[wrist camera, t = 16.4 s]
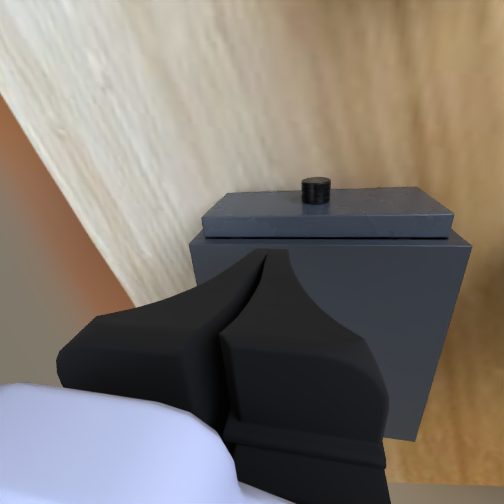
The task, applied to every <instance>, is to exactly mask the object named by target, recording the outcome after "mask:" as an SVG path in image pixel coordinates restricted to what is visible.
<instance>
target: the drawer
mask: <svg viewBox="0 0 504 504" xmlns="http://www.w3.org/2000/svg"><path fill="white" fill-rule="evenodd" d="M330 188H331V180H330V179H329V178H324V177H312V178H306V179H304V180H302V191H274V192H244V193H227V194H226V195H225V196H224V197H223V198H222V199H221V200H219V201H218V202H217V203H216V204H215V205H214V206H213V207H212V208H211V209H210V210H209V211H208V212H207V213H206V214H205V215H203V216H202V218H201V219H202V225H203V230H204V236H205V237H230V239H352V240H413V239H412V238H411V237H449V234H450V230H451V226H452V222H453V218H454V213H452V212H451V211H450V210H448V209H447V208H446V207H444V206H443V205H441V204H440V203H439V202H437V201H436V200H434V199H433V198H432V197H430V196H429V195H428V194H426V193H425V192H423V191H422V190H421V189H419V188H418V187H393V188H363V189H333V190H330Z"/></svg>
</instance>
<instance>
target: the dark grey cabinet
mask: <svg viewBox="0 0 504 504" xmlns="http://www.w3.org/2000/svg"><path fill="white" fill-rule="evenodd" d="M411 238H412V239H413V240H352V239H230V237H205V236H204V230H202V231H201V232H200V233H199V234H198V235H197V236H196V237H195V238H194V239H193V240H192V241H191V242H190V243H189V248H190V253H191V258H192V263H193V268H194V273H195V278H196V283H197V286H198V285H200V284H202V283H204V282H206V281H208V280H210V279H212V278H213V277H215V276H217V275H218V274H220V273H221V272H223V271H224V270H226V269H228V268H229V267H231V266H232V265H233V264H235V263H236V262H238V261H239V260H240V259H242V258H243V257H244V256H246V255H247V254H249V253H250V252H251V251H253V250H254V249H256V248H270V249H287V250H288V251H289V258H290V263H291V265H292V268H293V270H294V272H295V274H296V276H297V278H298V280H299V282H300V283H301V285H302V286H303V288H304V289H305V291H306V292H307V293H308V295H309V296H310V297H311V298H312V299H313V301H314V302H315V303H316V304H317V305H318V306H319V307H320V308H321V309H322V310H323V311H324V312H326V313H327V314H328V315H329V316H330V317H332V318H333V319H334V320H336V321H337V322H338V323H340V324H341V325H343V326H345V327H346V328H348V329H349V330H351V331H353V332H354V333H356V334H358V335H359V336H361V337H363V338H364V339H365V340H366V342H367V344H368V346H369V348H370V350H371V352H372V354H373V356H374V358H375V360H376V362H377V364H378V366H379V369H380V371H381V374H382V376H383V378H384V381H385V384H386V387H387V391H388V395H389V413H388V418H387V422H386V427H385V431H384V436H383V437H385V438H392V439H399V440H406V441H413V442H415V440H416V436H417V433H418V430H419V426H420V423H421V419H422V416H423V413H424V409H425V406H426V402H427V399H428V396H429V392H430V389H431V385H432V382H433V379H434V375H435V372H436V368H437V365H438V362H439V358H440V355H441V351H442V348H443V345H444V341H445V338H446V334H447V331H448V328H449V324H450V321H451V317H452V314H453V311H454V307H455V304H456V300H457V297H458V294H459V290H460V287H461V283H462V280H463V277H464V273H465V270H466V266H467V263H468V260H469V256H470V253H471V249H472V245H471V244H469V243H468V242H467V241H466V240H464V239H463V238H462V237H461V236H459V235H458V234H457V233H456V232H455V231H453V230H452V229H451V230H450V234H449V237H411Z"/></svg>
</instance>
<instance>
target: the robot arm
mask: <svg viewBox="0 0 504 504" xmlns="http://www.w3.org/2000/svg"><path fill="white" fill-rule="evenodd" d="M56 363H57V374H58V376H59V379H60V381H61V384H62V385H63V387H64V388H63V387H56V386H49V385H43V384H36V383H29V382H23V383H12V384H2V385H0V504H391V501H390V497H389V491H388V486H387V481H386V476H385V470H384V469H385V468H386V457H385V452H384V447H383V442H382V440H383V436H384V431H385V427H386V422H387V418H388V413H389V395H388V391H387V387H386V384H385V381H384V378H383V376H382V374H381V371H380V369H379V366H378V364H377V362H376V360H375V358H374V356H373V354H372V352H371V350H370V348H369V346H368V344H367V342H366V340H365V339H364V338H363V337H361V336H359V335H358V334H356V333H354V332H353V331H351V330H349V329H348V328H346V327H345V326H343V325H341V324H340V323H338V322H337V321H336V320H334V319H333V318H332V317H330V316H329V315H328V314H327V313H326V312H324V311H323V310H322V309H321V308H320V307H319V306H318V305H317V304H316V303H315V302H314V301H313V299H312V298H311V297H310V296H309V295H308V293H307V292H306V291H305V289H304V288H303V286H302V285H301V283H300V282H299V280H298V278H297V276H296V274H295V272H294V270H293V268H292V265H291V263H290V258H289V251H288V250H287V249H270V248H256V249H254V250H253V251H251V252H250V253H249V254H247V255H246V256H244V257H243V258H242V259H240V260H239V261H238V262H236V263H235V264H233V265H232V266H231V267H229V268H228V269H226V270H224V271H223V272H221V273H220V274H218V275H217V276H215V277H213V278H212V279H210V280H208V281H206V282H204V283H202V284H200V285H198V286H196V287H194V288H192V289H190V290H187V291H185V292H182V293H180V294H177V295H175V296H172V297H170V298H167V299H164V300H161V301H158V302H155V303H151V304H148V305H144V306H141V307H137V308H133V309H129V310H124V311H119V312H115V313H110V314H106V315H101V316H96V317H95V318H94V319H93V320H92V321H91V322H90V323H89V324H88V325H87V326H86V327H85V328H84V329H82V330H81V331H80V332H79V333H78V334H77V335H76V336H75V337H74V338H73V339H72V340H71V341H70V342H69V343H68V344H67V345H66V346H65V347H63V348H62V350H60V351H59V354H58V356H57V359H56Z"/></svg>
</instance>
